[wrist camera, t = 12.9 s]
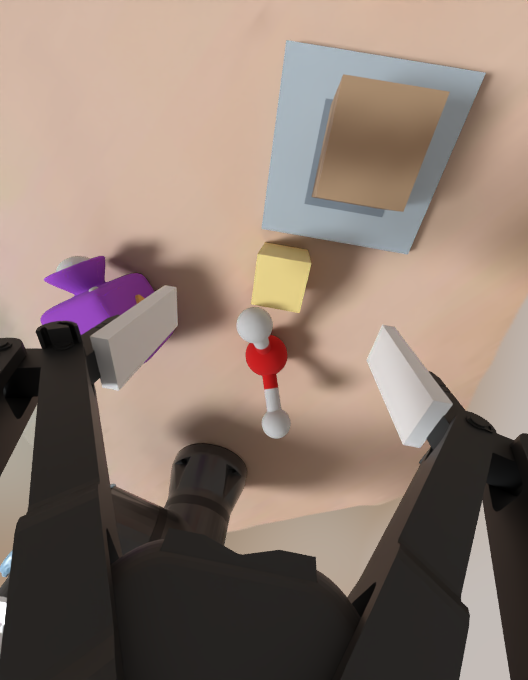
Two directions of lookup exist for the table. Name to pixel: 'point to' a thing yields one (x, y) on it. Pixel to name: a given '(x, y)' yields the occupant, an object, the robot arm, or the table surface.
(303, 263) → the mustard block
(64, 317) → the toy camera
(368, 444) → the table surface
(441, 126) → the plate
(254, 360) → the molecular model
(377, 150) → the walnut block
